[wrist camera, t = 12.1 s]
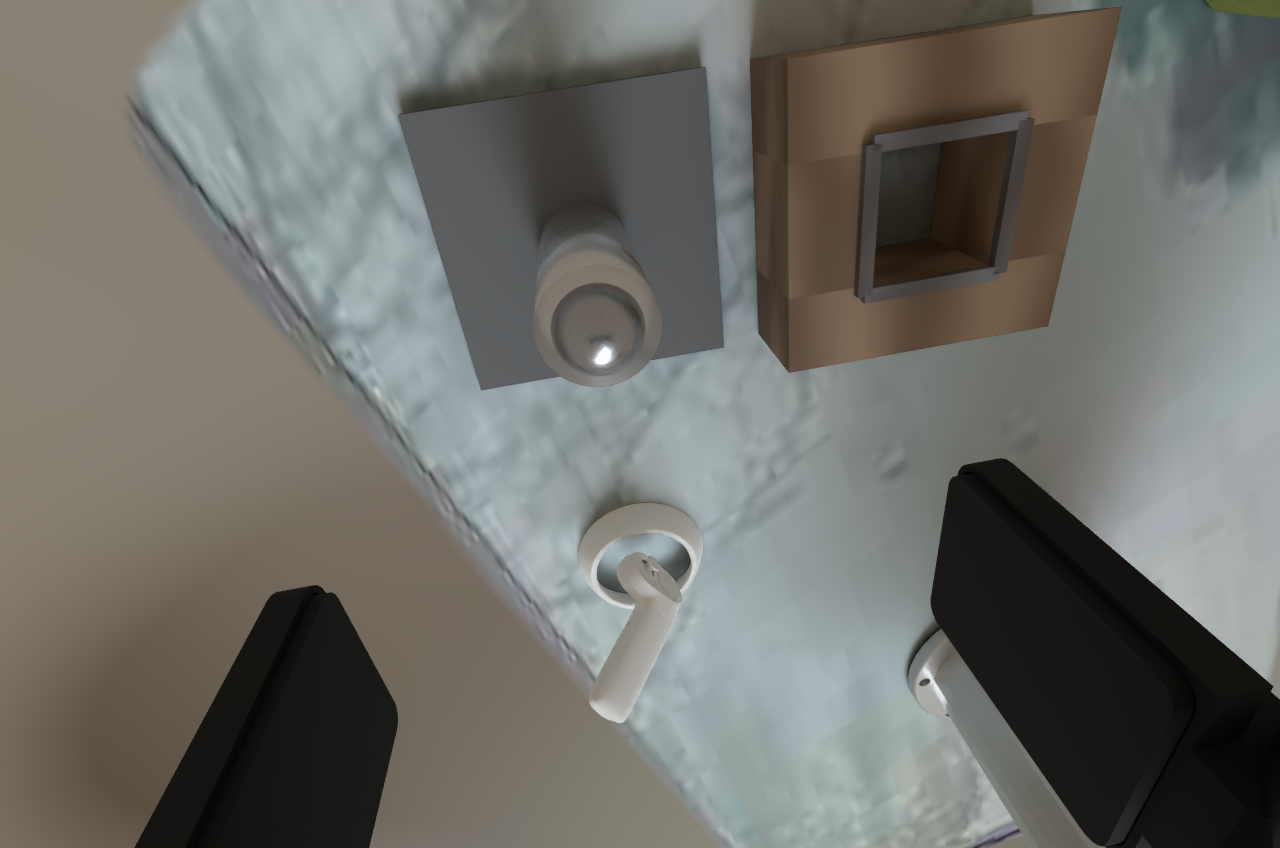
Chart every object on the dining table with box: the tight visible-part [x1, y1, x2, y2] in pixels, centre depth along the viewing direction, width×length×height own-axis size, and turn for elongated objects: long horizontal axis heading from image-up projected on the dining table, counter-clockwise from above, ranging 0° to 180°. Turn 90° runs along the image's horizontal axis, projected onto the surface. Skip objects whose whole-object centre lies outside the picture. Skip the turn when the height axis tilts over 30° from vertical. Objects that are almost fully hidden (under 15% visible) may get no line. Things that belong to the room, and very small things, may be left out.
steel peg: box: [533, 201, 662, 387], centre depth 22 cm, size 4×4×11 cm
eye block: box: [750, 7, 1122, 373], centre depth 26 cm, size 12×12×5 cm
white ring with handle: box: [578, 503, 703, 723], centre depth 35 cm, size 8×12×7 cm
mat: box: [398, 67, 724, 390], centre depth 27 cm, size 12×12×1 cm
